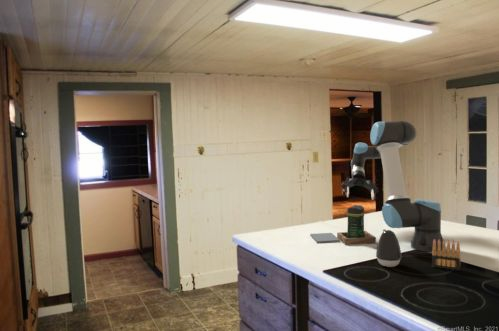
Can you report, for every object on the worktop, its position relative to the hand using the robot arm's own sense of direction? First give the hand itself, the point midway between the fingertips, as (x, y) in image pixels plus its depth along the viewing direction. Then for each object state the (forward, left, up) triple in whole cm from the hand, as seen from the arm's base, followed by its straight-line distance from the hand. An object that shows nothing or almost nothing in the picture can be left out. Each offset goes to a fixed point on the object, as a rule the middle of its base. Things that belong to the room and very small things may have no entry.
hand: (360, 196), depth 227 cm
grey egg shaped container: (-53, +7, -21) cm, 57 cm away
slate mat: (-5, +22, -21) cm, 31 cm away
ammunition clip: (-61, -14, -21) cm, 66 cm away
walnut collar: (-12, +7, -21) cm, 25 cm away
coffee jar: (-12, +7, -21) cm, 25 cm away
